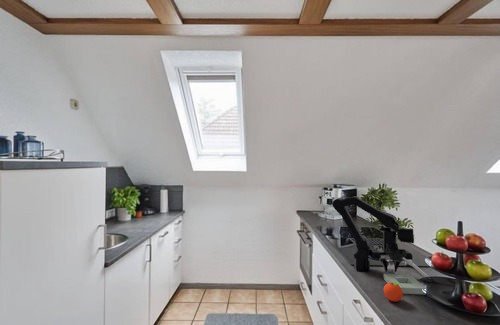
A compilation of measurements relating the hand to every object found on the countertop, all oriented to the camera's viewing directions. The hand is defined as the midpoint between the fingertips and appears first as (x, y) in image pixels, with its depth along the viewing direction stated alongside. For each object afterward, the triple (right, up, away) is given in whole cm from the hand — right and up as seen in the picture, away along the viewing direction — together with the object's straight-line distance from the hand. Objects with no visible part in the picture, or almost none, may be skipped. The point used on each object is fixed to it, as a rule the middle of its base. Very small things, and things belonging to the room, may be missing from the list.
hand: (390, 271), depth 129 cm
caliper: (+15, -2, +4) cm, 16 cm away
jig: (0, -1, -12) cm, 12 cm away
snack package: (+4, -2, +26) cm, 26 cm away
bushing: (0, -2, 0) cm, 2 cm away
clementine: (-11, -2, -24) cm, 27 cm away
